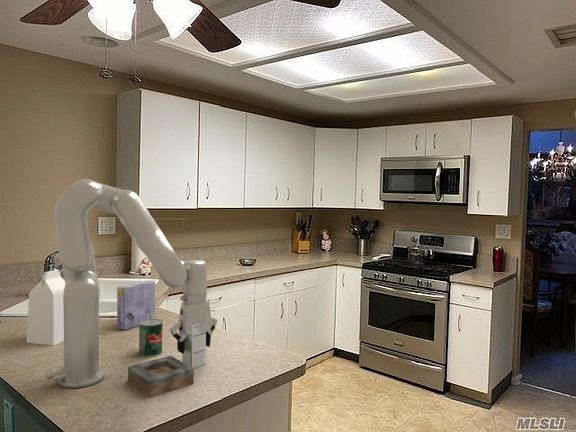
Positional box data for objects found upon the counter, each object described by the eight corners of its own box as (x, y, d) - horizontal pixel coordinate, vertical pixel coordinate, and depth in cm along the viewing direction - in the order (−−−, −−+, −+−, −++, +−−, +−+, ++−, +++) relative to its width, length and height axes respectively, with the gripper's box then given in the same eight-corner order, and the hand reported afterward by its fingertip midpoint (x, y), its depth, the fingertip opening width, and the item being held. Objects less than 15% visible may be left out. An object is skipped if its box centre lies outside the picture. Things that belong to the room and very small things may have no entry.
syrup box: (206, 364, 147) (207, 321, 146) (191, 369, 142) (192, 324, 142) (196, 359, 151) (196, 317, 150) (181, 364, 146) (182, 321, 146)
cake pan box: (148, 318, 199) (149, 279, 198) (157, 319, 197) (157, 280, 196) (115, 329, 182) (115, 286, 181) (124, 331, 180) (125, 288, 179)
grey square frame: (149, 397, 122) (149, 381, 122) (127, 381, 132) (128, 366, 132) (193, 383, 132) (193, 368, 131) (170, 369, 142) (170, 355, 142)
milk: (53, 345, 161) (53, 274, 160) (26, 342, 163) (26, 272, 162) (75, 335, 173) (75, 269, 172) (50, 332, 175) (50, 267, 174)
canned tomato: (155, 357, 152) (156, 326, 151) (134, 355, 153) (134, 324, 153) (166, 349, 160) (166, 319, 159) (145, 347, 161) (146, 318, 160)
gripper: (177, 304, 137) (176, 358, 138) (223, 296, 149) (222, 346, 150) (165, 299, 142) (164, 351, 143) (210, 292, 154) (210, 340, 155)
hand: (194, 348), depth 146 cm, fingers open, 9 cm apart
